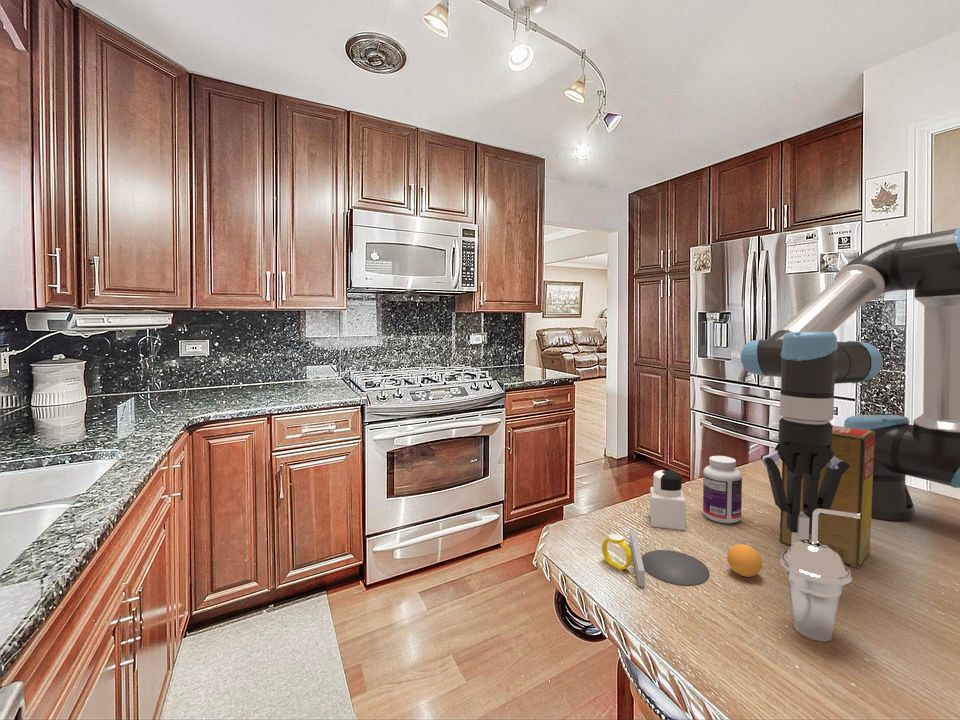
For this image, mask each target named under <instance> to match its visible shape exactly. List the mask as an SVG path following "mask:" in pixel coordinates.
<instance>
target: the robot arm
mask: <svg viewBox="0 0 960 720" xmlns="http://www.w3.org/2000/svg"><path fill="white" fill-rule="evenodd" d="M910 290H914V292H913V293H914V294H913V296H914V297H913V298H914V299H915V300H916V301H918V302H920V304H922V305H923V307H924V308H923V385H922V386H923V391H922V392H923V393H922V395H923V397H922V399H923V400H922V401H923V402H922V403H923V404H922V405H923V407H922V408H923V410H922V411H923V413H922V414H920V415H919V416H918V417H916V418H914V419H913V422H912V423H913V424H910V420H909V418H908V417H907V416H902V415H894V414H859V415H852V416H849V417H847V418H846V419H845V420H844V423H843V427H848V428H854V429H862V430H872V431H875V447H874V469H873V486H872V510H871V519H878V520H883V521H899V522H900V521H901V522H903V521H910V520H912V519H914V518H915V505H914V503H913V499H912V497H911V494H910V491H909V489H908V487H907V484H906V477H907V476H908V477H912V478H917V479H922V480H924V481H925V480H926V481H929V482H933V483H937V484H941V485H945V486H948V487H951V488H954V489H960V227H959V228H953V229H948V230H942V231H936V232H929V233H923V234H918V235H911V236H904V237H899V238H894V239H891V240H888V241H885V242H883V243H880V244H878V245H876V246H874V247H872V248H870V249H867V250H866V251H864V252H863V253H861V254H859V255H858V256H856V257H855V258H853V259H851V260H850V261H849V262H847V264H845V265H844V266H843V267H841V268H840V269H839V270H838V271H837V272H836V274H835V275H834V278H833V281H832V283H830V284H828V286H826V287H825V288H824V289H823V290H822V291H821V292H820V293H819V294H817V295H816V296H815V297H814V298H813V299H812V300H811V301H810V302H808V303H807V304H806V305H805V306H804V307H802V308H801V310H799V311H798V312H797V313H796V314H795V315H793V316H792V317H791V318H790V319H789V320H788V321H786V323H785V324H783V325H782V326H781V327H780V328H779V329H778V330H777V331H775V332H774V333H773V334H772V335H771V336H769V338H767V339H761V338H760V339H758V340H757V339H754V340H750V341H747V343H746V344H745V345H744V346H743V348H742V350H741V353H740V362H741V364H742V367H743V368H744V369H745V371H746V372H747V373H750V374H753V375H759V376H763V377H774V378H775V377H778V378H781V379H780V382H781V383H780V393H779V415H780V416H781V418H780V419H779V420H778V442H777V445H775V449H774V451H773V452H771V453H769V454H761V455H760V460H761V462H762V463H763V464H764V465H765V467H766V471H767V475H768V478H769V483H770V488H771V492H772V497H773V499H774V500H773V501H774V504H775V506H777V508H779V509H780V511H781V510H782V511H784V512H787V528H788V530H789V531H790V532H792V541H791V545H792V544H793V543H795V542H796V541H799V540H803V539H809V534H812V514H813V511H814V510H815V509H818V508H823V509H830V508H831V505H832V502H833V499H834V497H835V494H836V491H837V488H838V485H839V482H840V479H841V476H842V475H843V474H844V473H845V471H846V470H847V469H848V468H849V464H848V463H846V462H844V461H842V460H841V459H838V458H837V457H835V456H834V452H833V451H832V449H831V443H832V429H833V426H834V425H833V424H832V423H831V422H830V421H832V420H834V406H835V405H834V403H835V402H834V401H835V386H836V385H837V384H838V385H839V384H858V383H861V382H866V381H870V380H871V379H874V378H875V377H876V376H878V375H879V374H880V372H881V370H882V367H883V365H884V360H883V356H882V354H881V353H882V352H880V350H879V349H878V348H877V347H875V346H874V345H872V344H870V343H868V342H864V341H863V342H862V341H858V340H854V341H852V340H848V341H837V339H838V338H837V335H836V334H835V333H834V332H835V330H837V329H838V328H839V327H840V326H841V325H842V324H843V323H844V322H845V321H846V320H848V319H849V318H850V317H851V316H852V315H853V314H854V313H855V312H856V311H857V310H859V309H860V308H861V307H862V306H863V305H864V304H865V303H867V302H871V301H875V300H876V299H877V298H879V297H881V295H882V294H885V293H890V292H895V291H910ZM780 460H781V461H782V462H783V463H784V464H785V465H786V467H787V469H786V471H787V497H786V496H785V491H784V487H783V483H782V473H781V472H780V469H779V465H780ZM782 462H781V463H782ZM826 464H828V468H827V469H826V472H825V475H824V478H823V481H822V484H821V486H820V489H819V492H818V481H819V479H820V471H821V470H822V468H823V467H824V466H825V465H826ZM803 474H804V483H803V507H802V509H803V511H804V513H803V512H800V500H801V480H802V478H803ZM820 514H823V513H820ZM820 514H819V515H820ZM824 515H827V514H824ZM818 518H819V516H818Z"/></svg>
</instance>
